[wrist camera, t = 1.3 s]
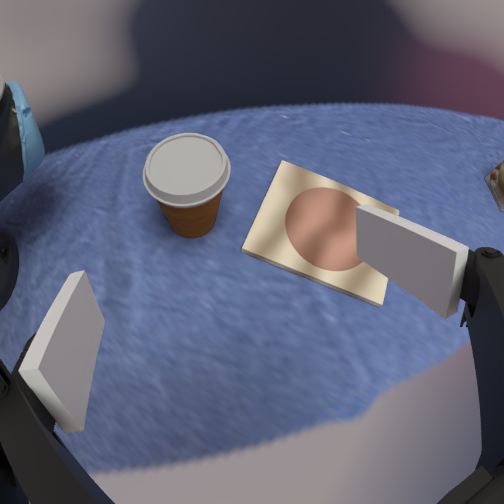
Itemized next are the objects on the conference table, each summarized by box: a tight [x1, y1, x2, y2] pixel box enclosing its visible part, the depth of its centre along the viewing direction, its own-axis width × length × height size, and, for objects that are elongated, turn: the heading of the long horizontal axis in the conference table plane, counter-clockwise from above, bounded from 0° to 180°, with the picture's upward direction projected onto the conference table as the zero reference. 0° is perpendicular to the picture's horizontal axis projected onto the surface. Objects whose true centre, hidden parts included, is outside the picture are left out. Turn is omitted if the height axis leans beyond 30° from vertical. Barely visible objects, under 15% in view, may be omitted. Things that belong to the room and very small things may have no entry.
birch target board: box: [241, 160, 399, 307], centre depth 42 cm, size 20×16×1 cm
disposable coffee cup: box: [143, 133, 230, 238], centre depth 36 cm, size 10×10×12 cm
